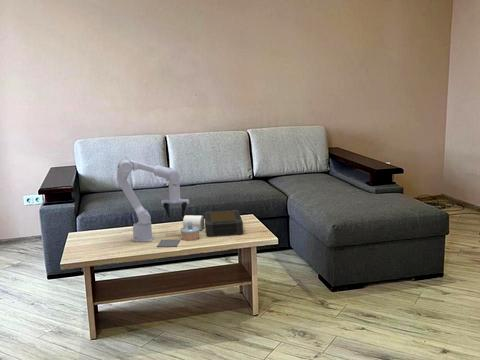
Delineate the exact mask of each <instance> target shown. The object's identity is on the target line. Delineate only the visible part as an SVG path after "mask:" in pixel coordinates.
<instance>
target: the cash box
mask: <svg viewBox="0 0 480 360" xmlns="http://www.w3.org/2000/svg"><path fill="white" fill-rule="evenodd" d="M243 222H244V221H243V218H242V216H241V214H240V212H239V210H238V209H225V210H210V211H205V212H204V227H205V235H206V237H210V238H211V237H212V238H213V237H224V236H225V237H226V236H238V235H239V236H240V235H243V234H244V227H243V226H244V225H243Z"/></svg>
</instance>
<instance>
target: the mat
mask: <svg viewBox="0 0 480 360" xmlns="http://www.w3.org/2000/svg"><path fill="white" fill-rule="evenodd" d="M180 242H181V239H179V238H177V239H176V238H175V239H161V240H159V243H158V244H157V245H156V247H157V248H177V247H178V246H179V244H180Z"/></svg>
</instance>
